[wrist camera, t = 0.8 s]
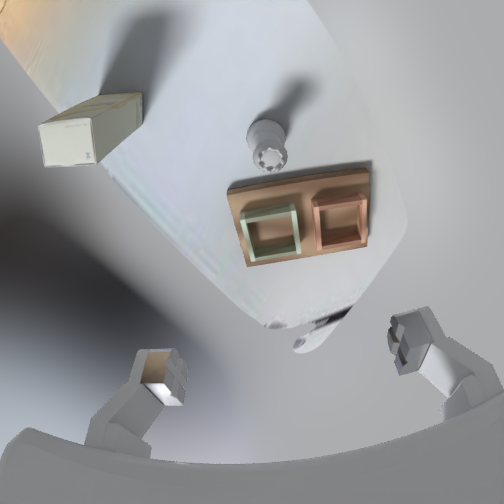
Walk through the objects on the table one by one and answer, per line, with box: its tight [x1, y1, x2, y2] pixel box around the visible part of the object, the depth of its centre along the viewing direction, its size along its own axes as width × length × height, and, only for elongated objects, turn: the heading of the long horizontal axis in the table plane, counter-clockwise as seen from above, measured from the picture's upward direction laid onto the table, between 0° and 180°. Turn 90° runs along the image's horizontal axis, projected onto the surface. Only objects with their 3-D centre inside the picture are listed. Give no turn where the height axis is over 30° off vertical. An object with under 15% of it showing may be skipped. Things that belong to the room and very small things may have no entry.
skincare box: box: [38, 92, 142, 167], centre depth 23 cm, size 6×4×12 cm
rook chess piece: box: [246, 119, 288, 173], centre depth 28 cm, size 4×4×8 cm
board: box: [227, 168, 369, 267], centre depth 37 cm, size 12×18×4 cm, turn 102°
